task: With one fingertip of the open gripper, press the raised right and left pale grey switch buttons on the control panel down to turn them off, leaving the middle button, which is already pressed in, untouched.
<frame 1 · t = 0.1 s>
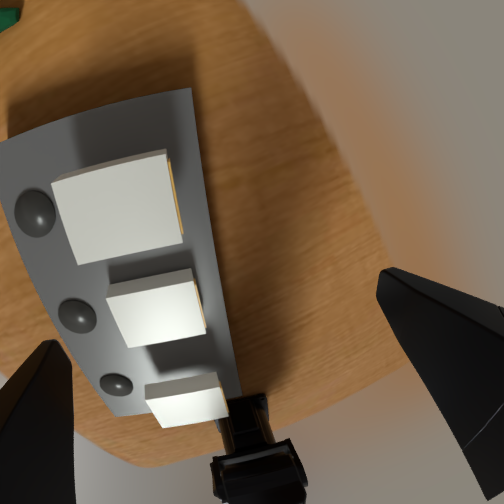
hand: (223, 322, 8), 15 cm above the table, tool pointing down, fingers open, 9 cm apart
control panel: (132, 282, 23), on the table
middle button: (158, 310, 20), point 4 cm above the table, slide at 0.0 cm
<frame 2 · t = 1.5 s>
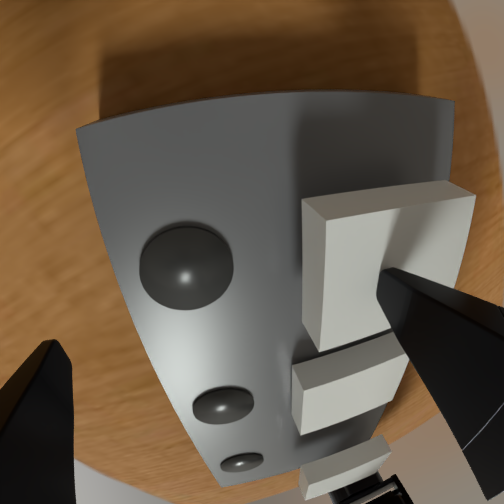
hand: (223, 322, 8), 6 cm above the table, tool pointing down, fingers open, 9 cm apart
control panel: (286, 344, 17), on the table
middle button: (350, 386, 14), point 4 cm above the table, slide at 0.0 cm
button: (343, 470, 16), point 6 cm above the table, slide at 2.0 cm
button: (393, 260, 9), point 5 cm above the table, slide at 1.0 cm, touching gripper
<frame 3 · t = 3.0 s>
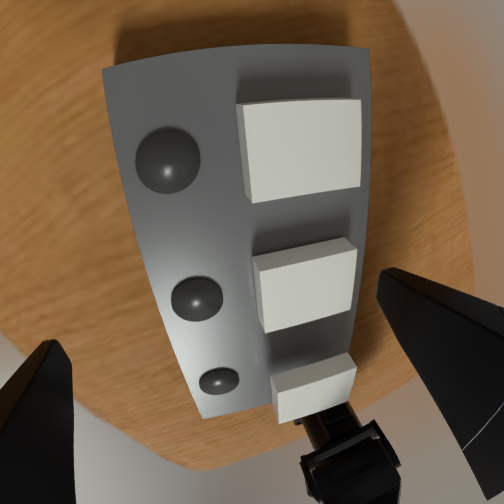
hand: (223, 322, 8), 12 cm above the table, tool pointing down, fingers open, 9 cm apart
control panel: (254, 258, 21), on the table
middle button: (306, 285, 18), point 4 cm above the table, slide at 0.0 cm
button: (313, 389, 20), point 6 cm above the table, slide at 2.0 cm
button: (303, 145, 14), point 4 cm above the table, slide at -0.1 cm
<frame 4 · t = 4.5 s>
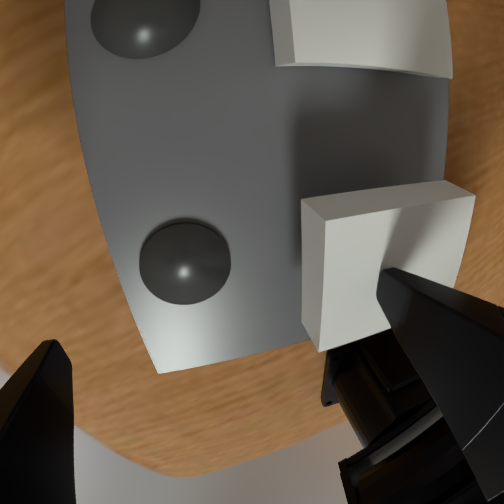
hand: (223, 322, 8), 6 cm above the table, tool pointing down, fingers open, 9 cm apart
control panel: (264, 19, 9), on the table
middle button: (369, 2, 6), point 4 cm above the table, slide at 0.0 cm
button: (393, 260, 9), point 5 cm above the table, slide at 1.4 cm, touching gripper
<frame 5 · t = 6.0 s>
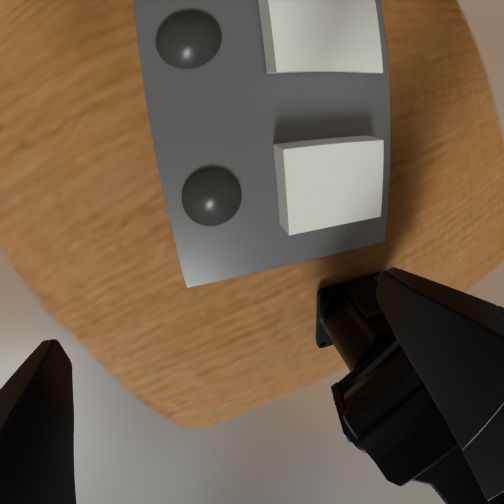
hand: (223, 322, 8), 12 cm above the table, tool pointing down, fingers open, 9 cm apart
control panel: (260, 41, 15), on the table
middle button: (324, 29, 12), point 4 cm above the table, slide at 0.0 cm
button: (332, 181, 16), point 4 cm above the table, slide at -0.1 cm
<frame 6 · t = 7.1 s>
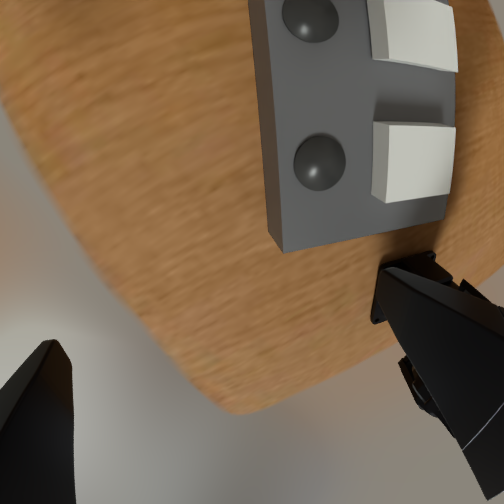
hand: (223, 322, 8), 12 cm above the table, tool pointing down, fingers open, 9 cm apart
control panel: (351, 30, 15), on the table
middle button: (416, 29, 12), point 4 cm above the table, slide at 0.0 cm
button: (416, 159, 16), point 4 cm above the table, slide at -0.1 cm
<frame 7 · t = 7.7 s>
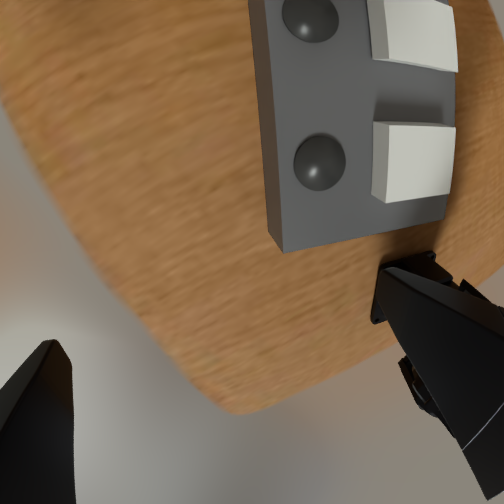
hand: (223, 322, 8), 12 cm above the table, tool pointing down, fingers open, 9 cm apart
control panel: (351, 30, 15), on the table
middle button: (416, 29, 12), point 4 cm above the table, slide at 0.0 cm
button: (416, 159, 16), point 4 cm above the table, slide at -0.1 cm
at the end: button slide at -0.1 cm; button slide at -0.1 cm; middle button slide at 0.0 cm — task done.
